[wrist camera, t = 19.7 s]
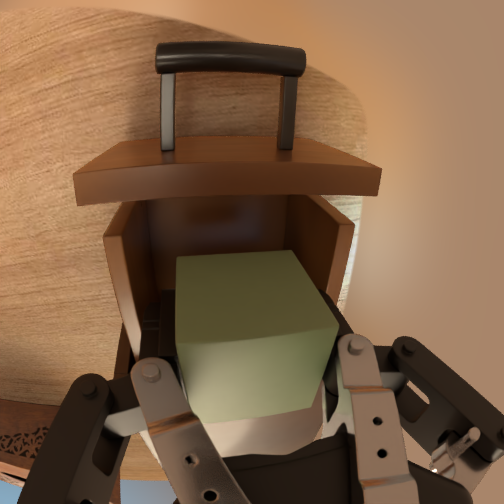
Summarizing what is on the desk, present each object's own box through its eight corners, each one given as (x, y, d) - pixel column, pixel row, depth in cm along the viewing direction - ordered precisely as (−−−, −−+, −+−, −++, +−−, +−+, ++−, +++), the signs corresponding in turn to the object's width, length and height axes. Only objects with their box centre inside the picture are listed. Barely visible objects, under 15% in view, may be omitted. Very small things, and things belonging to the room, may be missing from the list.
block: (176, 256, 11) (175, 343, 7) (291, 249, 12) (340, 324, 8) (186, 340, 13) (193, 425, 9) (280, 331, 14) (311, 407, 10)
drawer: (120, 64, 13) (69, 40, 6) (314, 67, 15) (393, 56, 8) (148, 331, 22) (144, 415, 15) (287, 319, 24) (320, 394, 17)
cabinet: (132, 278, 20) (112, 385, 12) (297, 267, 23) (352, 358, 15) (163, 396, 28) (168, 476, 20) (277, 385, 30) (302, 459, 22)
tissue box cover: (6, 436, 30) (-2, 479, 21) (-40, 390, 23) (-56, 438, 14) (120, 452, 34) (120, 507, 25) (78, 407, 27) (69, 478, 18)
